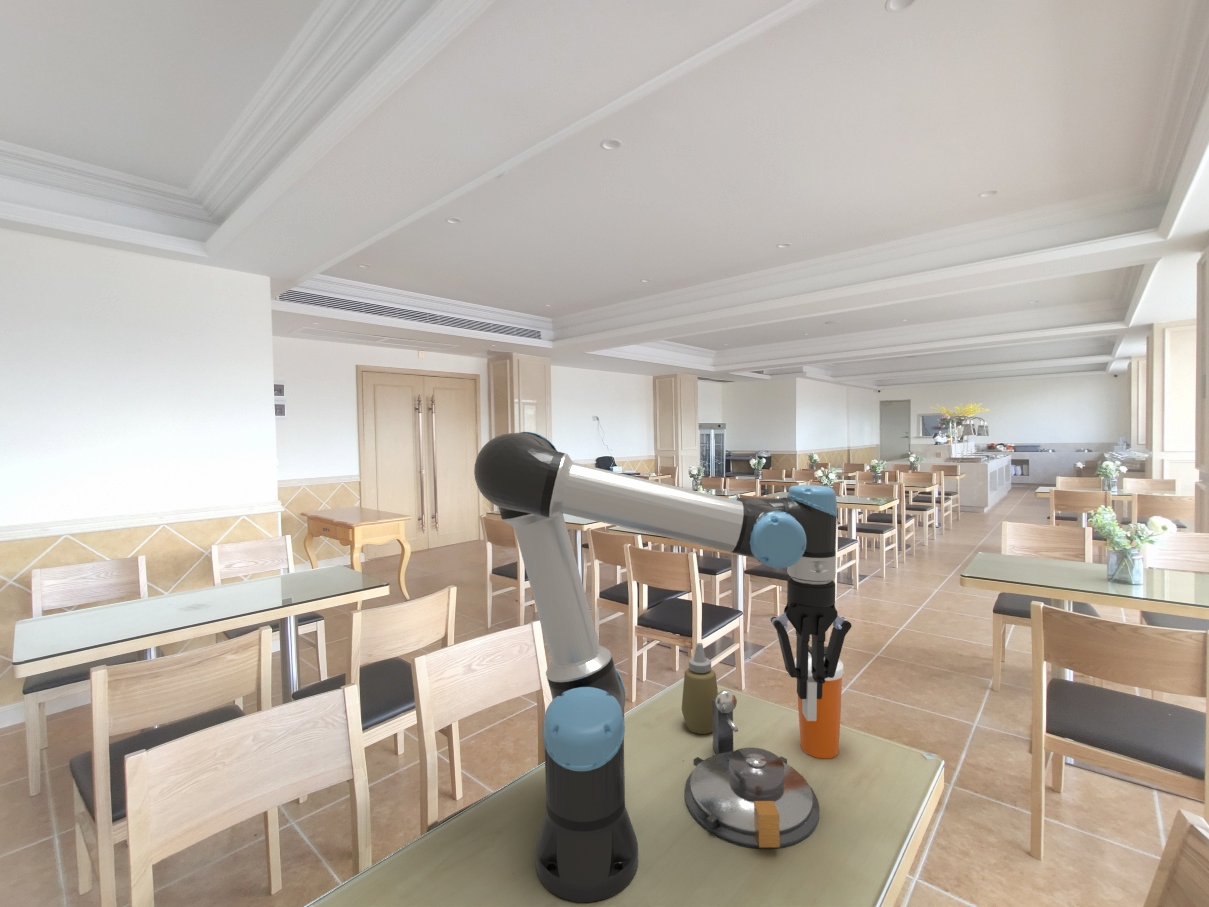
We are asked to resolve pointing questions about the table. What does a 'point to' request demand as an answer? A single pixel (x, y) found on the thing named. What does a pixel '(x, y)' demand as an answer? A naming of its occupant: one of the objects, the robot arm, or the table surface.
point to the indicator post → (723, 721)
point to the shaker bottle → (823, 716)
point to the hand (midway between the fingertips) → (809, 716)
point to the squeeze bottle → (699, 693)
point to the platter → (744, 815)
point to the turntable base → (751, 840)
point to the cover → (756, 774)
